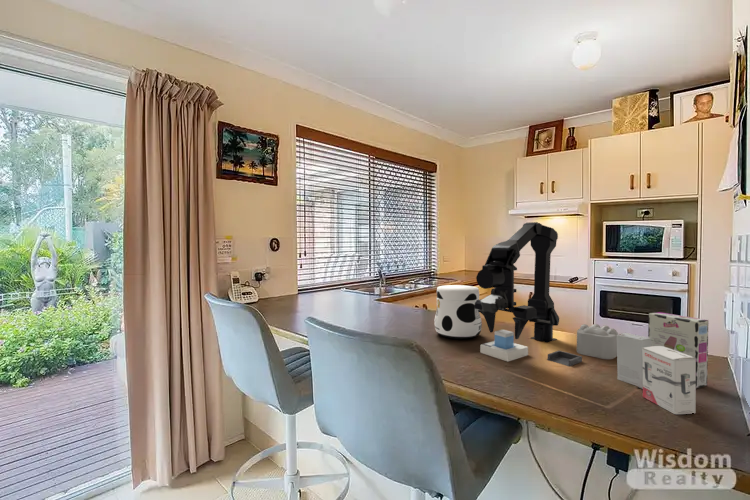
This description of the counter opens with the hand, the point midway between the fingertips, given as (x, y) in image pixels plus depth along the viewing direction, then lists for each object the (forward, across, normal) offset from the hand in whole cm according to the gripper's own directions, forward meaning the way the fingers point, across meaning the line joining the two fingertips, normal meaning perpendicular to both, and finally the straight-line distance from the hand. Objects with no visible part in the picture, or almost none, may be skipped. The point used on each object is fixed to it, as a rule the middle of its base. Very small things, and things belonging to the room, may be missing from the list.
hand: (503, 335), depth 111 cm
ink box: (+6, +41, +1) cm, 42 cm away
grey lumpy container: (+6, +16, +26) cm, 31 cm away
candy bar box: (+6, +37, +20) cm, 43 cm away
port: (+6, 0, 0) cm, 6 cm away
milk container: (+6, -24, +5) cm, 25 cm away
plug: (+6, 0, 0) cm, 6 cm away
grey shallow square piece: (+6, +14, +9) cm, 18 cm away
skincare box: (+6, +32, +8) cm, 34 cm away
